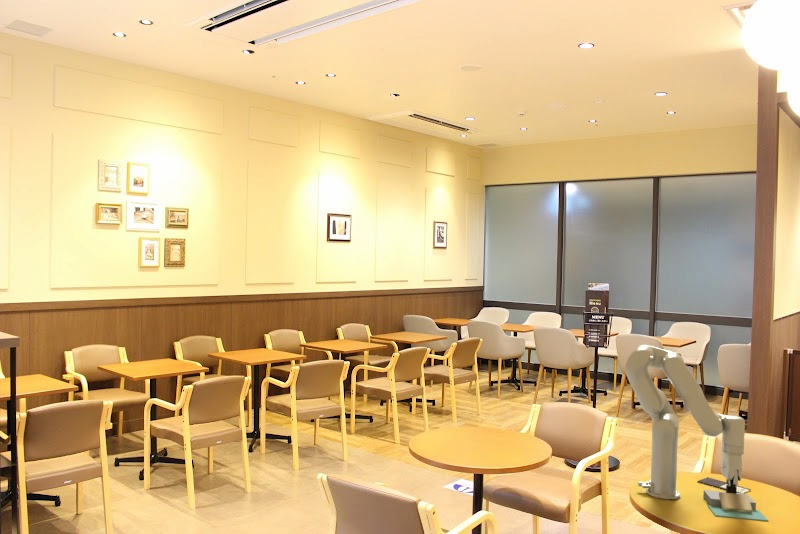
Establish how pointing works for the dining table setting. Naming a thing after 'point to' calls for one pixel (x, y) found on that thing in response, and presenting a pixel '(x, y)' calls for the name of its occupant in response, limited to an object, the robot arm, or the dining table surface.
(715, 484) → the chocolate bar
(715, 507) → the teal mat
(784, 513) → the dining table surface
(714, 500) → the gray block
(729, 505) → the brass tile
